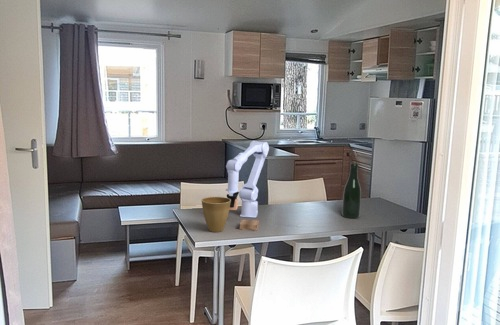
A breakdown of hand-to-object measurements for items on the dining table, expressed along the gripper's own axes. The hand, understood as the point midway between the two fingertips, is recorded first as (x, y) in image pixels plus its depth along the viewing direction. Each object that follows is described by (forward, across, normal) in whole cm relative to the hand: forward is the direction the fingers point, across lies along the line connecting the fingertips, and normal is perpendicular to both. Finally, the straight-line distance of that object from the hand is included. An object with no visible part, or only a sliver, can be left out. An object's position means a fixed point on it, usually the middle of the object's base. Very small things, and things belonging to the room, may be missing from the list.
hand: (232, 205), depth 252 cm
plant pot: (+8, +19, -6) cm, 22 cm away
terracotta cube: (+2, 0, 0) cm, 2 cm away
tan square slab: (+8, +11, +11) cm, 18 cm away
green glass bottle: (+9, -26, +67) cm, 72 cm away
